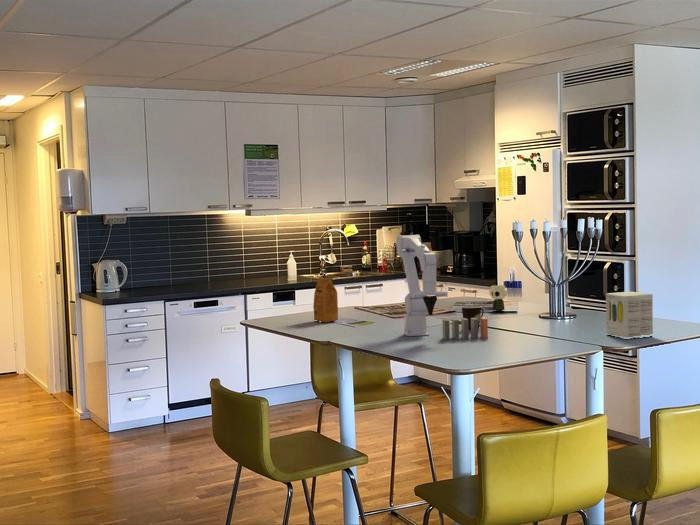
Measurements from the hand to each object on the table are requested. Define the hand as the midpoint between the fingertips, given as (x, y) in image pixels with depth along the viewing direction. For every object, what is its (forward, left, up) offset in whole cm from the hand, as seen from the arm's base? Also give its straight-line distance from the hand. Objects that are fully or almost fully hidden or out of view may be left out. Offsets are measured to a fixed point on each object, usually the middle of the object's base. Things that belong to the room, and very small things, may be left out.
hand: (430, 314), depth 346 cm
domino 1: (+10, 0, -10) cm, 15 cm away
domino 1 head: (+6, 0, -10) cm, 12 cm away
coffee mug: (+24, +23, -11) cm, 35 cm away
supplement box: (+78, -15, -11) cm, 81 cm away
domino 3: (+18, 0, -10) cm, 21 cm away
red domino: (+22, 0, -10) cm, 25 cm away
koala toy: (+50, +77, -11) cm, 93 cm away
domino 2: (+14, 0, -10) cm, 18 cm away
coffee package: (-39, +68, -11) cm, 79 cm away
